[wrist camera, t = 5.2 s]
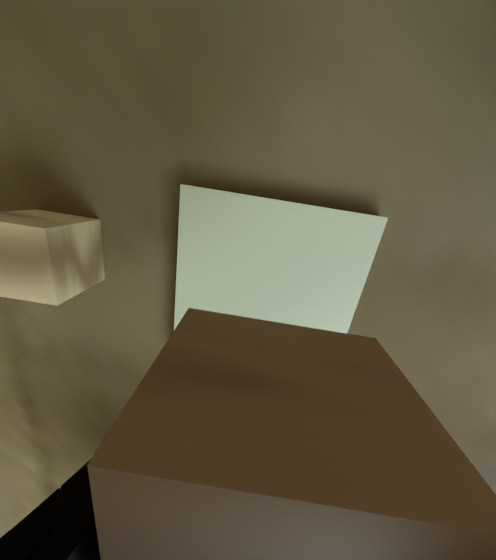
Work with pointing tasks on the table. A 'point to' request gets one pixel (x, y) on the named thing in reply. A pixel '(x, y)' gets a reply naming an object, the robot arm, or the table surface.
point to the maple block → (49, 255)
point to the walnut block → (283, 455)
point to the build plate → (272, 258)
